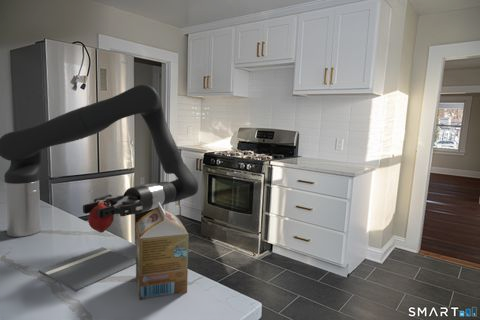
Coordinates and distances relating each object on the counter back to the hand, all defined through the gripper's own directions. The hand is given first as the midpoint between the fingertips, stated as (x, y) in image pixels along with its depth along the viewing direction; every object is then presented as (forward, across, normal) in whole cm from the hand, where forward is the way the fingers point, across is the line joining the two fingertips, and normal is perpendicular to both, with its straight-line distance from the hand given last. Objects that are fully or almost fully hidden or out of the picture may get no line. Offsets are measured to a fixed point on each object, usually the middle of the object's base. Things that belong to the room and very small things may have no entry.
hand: (91, 211), depth 76 cm
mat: (-2, -4, +16) cm, 17 cm away
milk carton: (-6, +17, +17) cm, 25 cm away
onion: (-3, 0, +6) cm, 7 cm away
